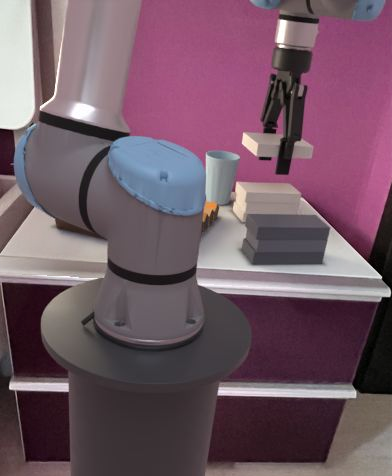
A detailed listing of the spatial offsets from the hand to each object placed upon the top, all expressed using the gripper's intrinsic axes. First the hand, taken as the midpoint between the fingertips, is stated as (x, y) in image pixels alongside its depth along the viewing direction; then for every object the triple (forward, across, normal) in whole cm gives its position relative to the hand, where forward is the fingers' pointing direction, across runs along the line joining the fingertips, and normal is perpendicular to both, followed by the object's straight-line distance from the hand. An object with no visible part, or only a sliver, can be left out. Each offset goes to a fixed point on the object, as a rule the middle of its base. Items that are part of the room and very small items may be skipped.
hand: (273, 166), depth 118 cm
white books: (+11, 0, 0) cm, 11 cm away
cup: (+11, +10, +8) cm, 17 cm away
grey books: (+11, -21, +4) cm, 24 cm away
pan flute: (+11, -4, +28) cm, 30 cm away
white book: (-3, 0, 0) cm, 3 cm away
